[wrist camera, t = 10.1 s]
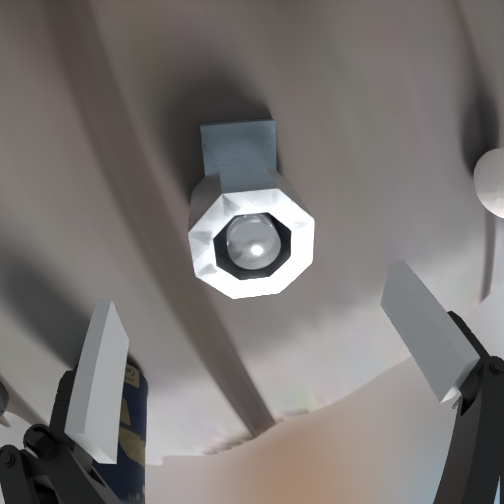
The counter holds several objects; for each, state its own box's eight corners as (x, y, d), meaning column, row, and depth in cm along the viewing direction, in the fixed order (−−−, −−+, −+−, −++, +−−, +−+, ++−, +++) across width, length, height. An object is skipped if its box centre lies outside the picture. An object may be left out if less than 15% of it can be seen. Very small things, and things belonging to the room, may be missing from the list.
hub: (200, 250, 25) (200, 301, 20) (188, 164, 21) (182, 198, 16) (289, 240, 25) (309, 288, 20) (289, 155, 22) (315, 185, 17)
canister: (75, 339, 30) (39, 494, 15) (156, 360, 33) (151, 518, 18) (75, 384, 34) (54, 510, 19) (144, 401, 37) (140, 528, 22)
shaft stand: (216, 267, 27) (221, 327, 21) (200, 124, 21) (197, 148, 15) (275, 260, 28) (294, 317, 22) (272, 118, 21) (299, 140, 15)
